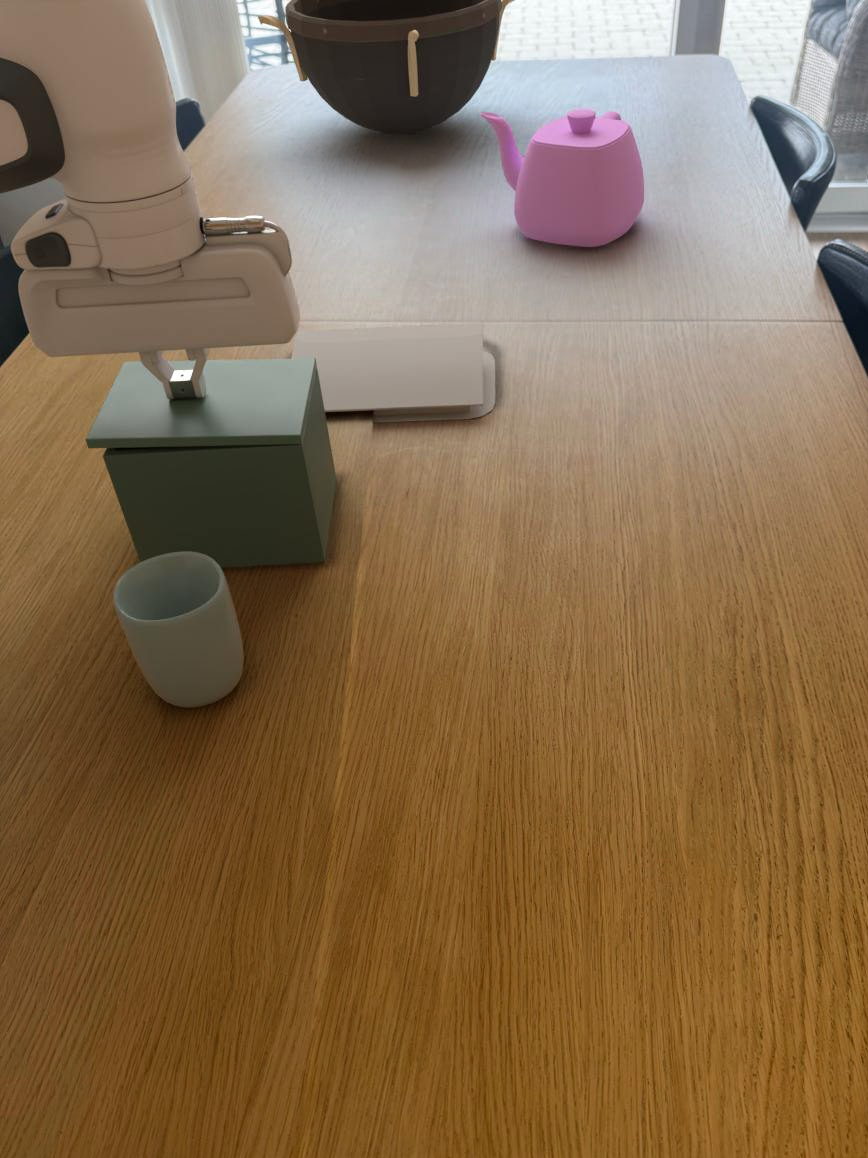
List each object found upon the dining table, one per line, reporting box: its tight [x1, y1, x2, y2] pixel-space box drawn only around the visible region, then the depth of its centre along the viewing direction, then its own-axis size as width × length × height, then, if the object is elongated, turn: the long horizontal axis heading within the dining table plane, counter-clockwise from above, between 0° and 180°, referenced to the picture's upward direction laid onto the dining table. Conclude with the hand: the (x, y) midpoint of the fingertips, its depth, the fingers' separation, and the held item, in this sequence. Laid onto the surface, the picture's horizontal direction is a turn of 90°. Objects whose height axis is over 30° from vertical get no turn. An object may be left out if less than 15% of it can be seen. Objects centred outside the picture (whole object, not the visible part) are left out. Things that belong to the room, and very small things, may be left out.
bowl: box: [257, 0, 516, 135], centre depth 169 cm, size 35×35×20 cm
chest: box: [102, 368, 337, 568], centre depth 86 cm, size 16×13×12 cm
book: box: [290, 322, 496, 423], centre depth 107 cm, size 15×23×4 cm, turn 89°
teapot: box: [479, 108, 645, 248], centre depth 135 cm, size 23×21×15 cm
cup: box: [112, 551, 245, 709], centre depth 73 cm, size 8×8×10 cm
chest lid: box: [85, 357, 317, 449], centre depth 82 cm, size 16×13×1 cm
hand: (187, 395), depth 81 cm, fingers closed
